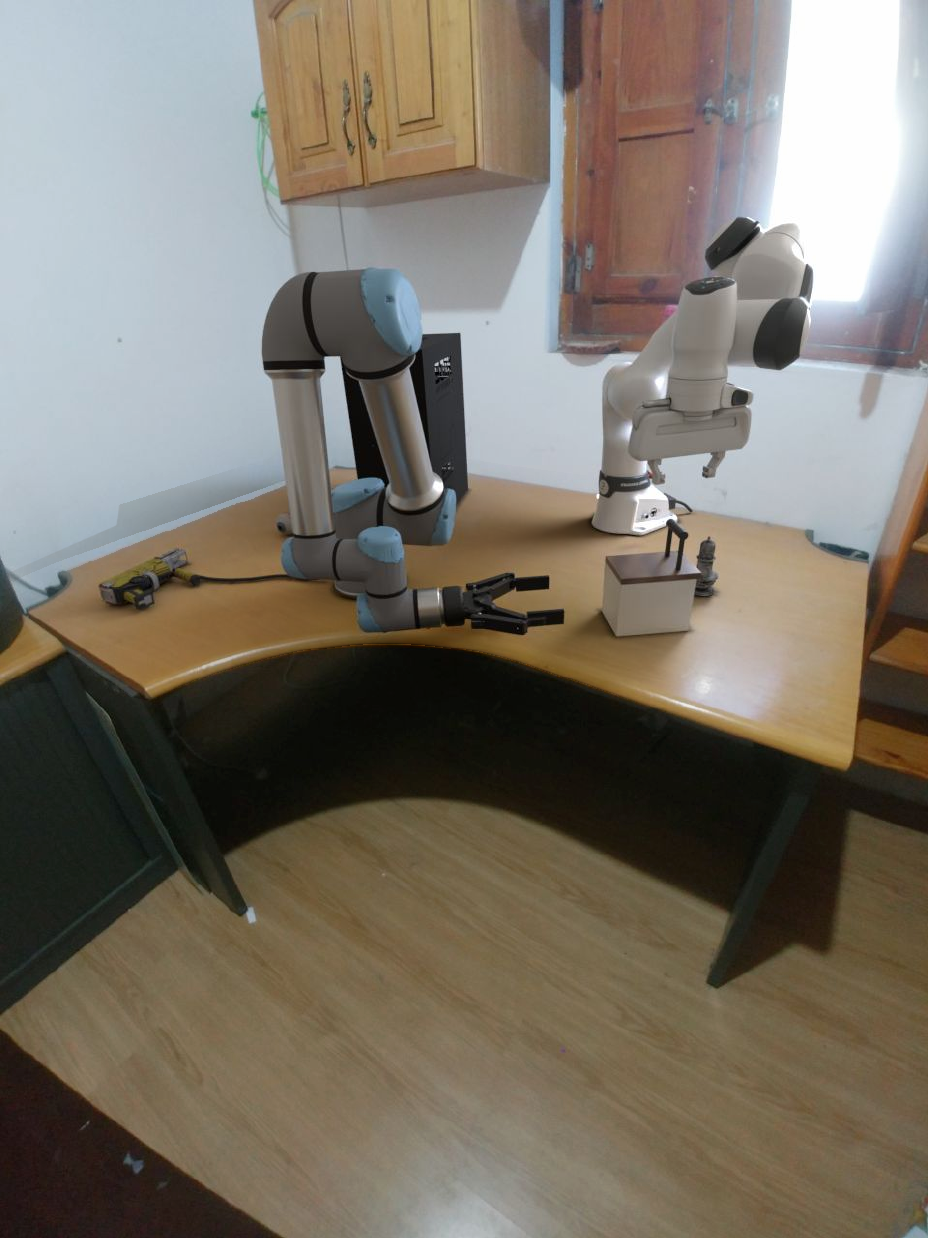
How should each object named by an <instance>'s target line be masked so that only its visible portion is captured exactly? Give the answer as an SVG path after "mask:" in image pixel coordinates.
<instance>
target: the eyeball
mask: <svg viewBox="0 0 928 1238" xmlns="http://www.w3.org/2000/svg"><path fill="white" fill-rule="evenodd" d="M275 527H276V529H277V530H278V531H279V532H280V533H281V534H282V535H285V536H286V535H287V536H289V535H293V533H292V524H291V517H290V512H287V511H286V512H282V513H280V514H279V515H278V516H277V517H276V520H275Z"/></svg>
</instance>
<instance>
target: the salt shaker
mask: <svg viewBox="0 0 928 1238" xmlns="http://www.w3.org/2000/svg"><path fill="white" fill-rule="evenodd" d="M716 548H717V547H716V542H715V541H714V540H712V538H711V536H708V537H707V539H704V540H702V541H701V542H700V544H699V550H698V554H697V555H696V559H697V561H696V565H695V567H696V568H697V569H698V570H699V571H700V572H701V578H700V579H697V580H696V586H695V592H694V596H699V597H708V596H712V595H714V593H715V589H714V588H713V586H714V585H715V583H716V582H717V580H718V579H719V574H718V573H717V571H714V570H713V566H714V561H715V560H716V556H715V553H716Z"/></svg>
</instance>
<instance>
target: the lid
mask: <svg viewBox="0 0 928 1238" xmlns="http://www.w3.org/2000/svg"><path fill="white" fill-rule="evenodd" d="M665 527H667V535H666V542H665V550H664V551H656V552H644V553H643V552H642V553H641V552H640V553H631V554H630V553H629V554H628V553H627V554H618V555H617V554H616V555H606V556H605V559H604V561H605V562H606V563H607V565H608V566H609V568H610V569H611V571H612V572H613V574H614V575H615V577H616V578H617V580H618V581H619V583H620V584H621V585H625V584H638V583H650V582H663V581H676V580H689V579H700V578H701V572H700V571H699V570H698V569H697V568H696V565H695V564H694V563H693V562H692V561H691V560H690V559H689V558H688V557H687V556H686V555H685V554H684V548H685V542H686V541H687V539H688V538H689V533H688V532H687V531H686V529H685V528H683V526H681V525H680V524H679V523H678V521H677V522H676V521H675V520H674V519H668V520H667V521H666V526H665ZM673 534H674V535H675V536H676V537H677V538H678V539H679V541H678V549H677V550H671V547H672V540H673Z"/></svg>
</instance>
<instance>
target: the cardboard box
mask: <svg viewBox="0 0 928 1238" xmlns="http://www.w3.org/2000/svg"><path fill="white" fill-rule="evenodd" d="M462 354H463V353H462V336H461V332H447V333H446V332H442V333H441V332H440V333H422V342H421V346H420V348H419V350H418V351H417V352H416V353H415V360H414V362H413V363H412V365H411V366H410V367H409V370H410V374H411V379H412V383H413V388H414V392H415V396H416V401H417V405H418V410H419V414H420V419H421V423H422V428H423V432H424V436H425V441H426V445H427V450H428V454H429V459H430V463H431V467H432V472H434V473H436V474H437V475H438V476H439V477H440V478H441V479H442V482H443V486H444V489H447V488H449V489H452V490H454V491H455V493H456V507H457V506H458V505H459V503H460V502H461V500H462V499H463V497H464V496H465V495H466V493H467V491H468V490H469V479H468V477H469V476H468V457H467V455H468V454H467V439H466V437H467V436H466V418H465V417H466V415H465V399H464V397H465V396H464V395H465V394H464V377H463V375H464V374H463V357H462V356H463V355H462ZM339 359H340V367H341V372H342V380H343V386H344V387H343V388H344V394H345V395H344V396H345V400H346V408H347V409H346V410H347V415H348V421H349V430H350V436H351V437H350V438H351V444H352V450H353V458H354V463H355V464H354V465H355V470H356V471H355V472H356V477H357V479H356V480H358V479H363V478H378V479H381V480H382V481H383V483H384V488H387V486H388V484H389V483H390V482H389V479H388V476H387V472H386V469H385V466H384V462H383V459H382V456H381V453H380V449H379V446H378V443H377V439H376V436H375V433H374V429H373V426H372V423H371V420H370V416H369V413H368V410H367V406H366V403H365V400H364V396H363V393H362V390H361V387H360V383H359V381H358V380H356V379H354V378H352V377H350V376H349V375H348V374H347V372H346V370H345V366H344V363H343V360H342V358H341V357H339ZM445 359H446V360H445ZM441 361H442V363H441ZM436 364H438V365H436Z"/></svg>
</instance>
